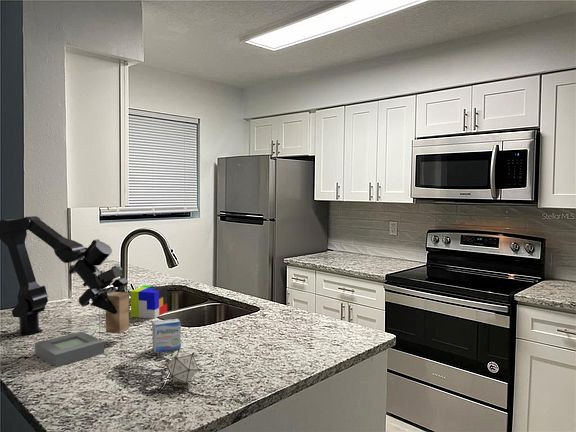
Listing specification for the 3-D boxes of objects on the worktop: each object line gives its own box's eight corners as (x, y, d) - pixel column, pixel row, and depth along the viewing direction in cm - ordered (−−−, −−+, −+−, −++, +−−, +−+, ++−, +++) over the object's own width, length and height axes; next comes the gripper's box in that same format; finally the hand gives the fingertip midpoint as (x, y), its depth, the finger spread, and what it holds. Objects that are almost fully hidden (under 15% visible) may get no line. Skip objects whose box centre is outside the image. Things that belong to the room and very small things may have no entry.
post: (105, 332, 141) (105, 295, 140) (115, 327, 146) (115, 291, 145) (119, 333, 140) (119, 296, 139) (128, 328, 145) (128, 292, 144)
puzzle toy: (154, 318, 168) (154, 292, 167) (130, 316, 170) (130, 291, 169) (167, 311, 178) (166, 286, 177) (144, 309, 180) (144, 285, 179)
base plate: (35, 354, 131) (34, 343, 131) (81, 342, 142) (81, 331, 142) (56, 367, 122) (55, 354, 122) (104, 352, 133) (104, 341, 133)
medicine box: (155, 353, 133) (154, 325, 133) (152, 348, 137) (151, 321, 137) (181, 349, 137) (181, 321, 136) (177, 344, 141) (177, 317, 140)
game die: (177, 394, 115) (168, 357, 119) (208, 382, 115) (198, 345, 120) (164, 391, 107) (156, 351, 111) (198, 378, 107) (188, 339, 112)
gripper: (86, 263, 133) (119, 302, 132) (123, 254, 152) (152, 288, 150) (64, 287, 136) (96, 325, 134) (103, 275, 154) (131, 309, 152)
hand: (121, 310), depth 142 cm, fingers closed on post, 5 cm apart
